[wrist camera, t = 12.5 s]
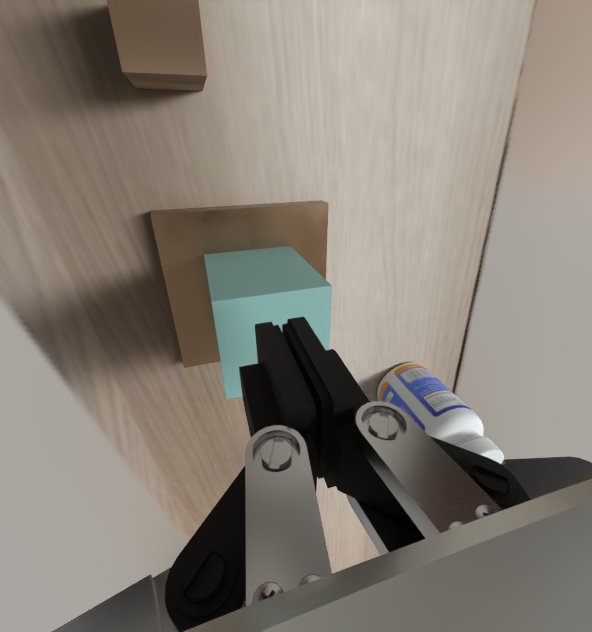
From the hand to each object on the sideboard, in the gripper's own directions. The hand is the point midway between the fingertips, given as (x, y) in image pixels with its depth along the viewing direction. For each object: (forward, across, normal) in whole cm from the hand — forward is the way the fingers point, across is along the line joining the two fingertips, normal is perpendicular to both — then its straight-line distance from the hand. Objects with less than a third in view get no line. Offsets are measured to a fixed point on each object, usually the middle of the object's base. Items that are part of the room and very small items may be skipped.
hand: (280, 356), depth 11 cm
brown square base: (+11, 0, +2) cm, 11 cm away
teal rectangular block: (+10, -1, +2) cm, 10 cm away
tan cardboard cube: (+11, +2, -10) cm, 15 cm away
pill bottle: (+11, -14, +14) cm, 23 cm away
